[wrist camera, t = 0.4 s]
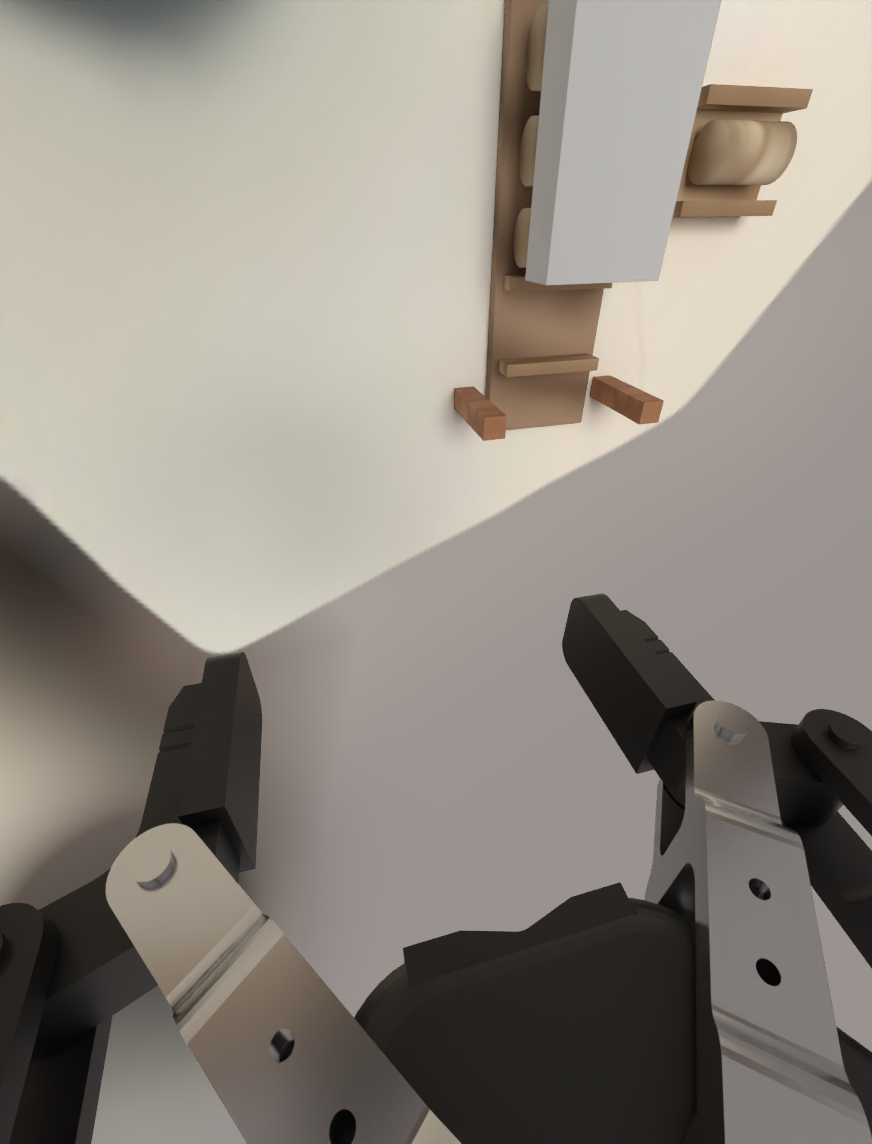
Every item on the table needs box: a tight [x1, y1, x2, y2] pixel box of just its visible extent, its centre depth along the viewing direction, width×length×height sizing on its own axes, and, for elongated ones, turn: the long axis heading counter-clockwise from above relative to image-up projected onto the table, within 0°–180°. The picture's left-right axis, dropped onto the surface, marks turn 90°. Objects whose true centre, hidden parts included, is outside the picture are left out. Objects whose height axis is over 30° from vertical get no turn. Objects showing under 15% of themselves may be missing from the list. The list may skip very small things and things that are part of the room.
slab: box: [525, 0, 721, 285], centre depth 25 cm, size 12×7×3 cm, turn 0°
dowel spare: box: [688, 119, 797, 185], centre depth 30 cm, size 3×5×3 cm, turn 91°
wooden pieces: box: [454, 0, 813, 441], centre depth 31 cm, size 23×21×7 cm
